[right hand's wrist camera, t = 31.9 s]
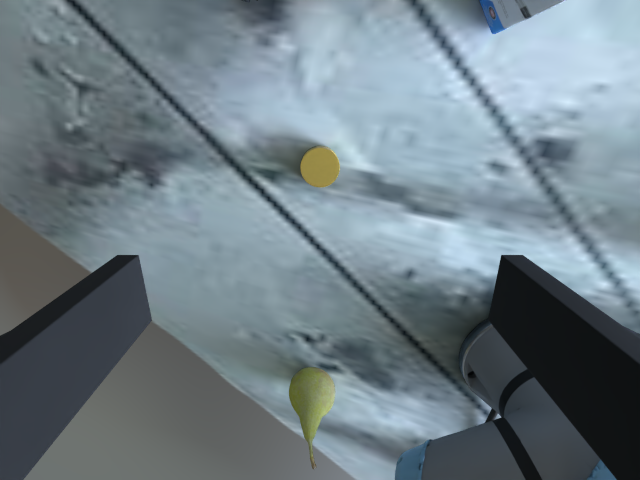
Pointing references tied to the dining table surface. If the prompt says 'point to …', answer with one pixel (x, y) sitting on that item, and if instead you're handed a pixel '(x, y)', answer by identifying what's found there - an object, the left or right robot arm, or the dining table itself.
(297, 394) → the fruit
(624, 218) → the dining table surface
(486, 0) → the ink box
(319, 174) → the cap
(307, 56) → the dining table surface
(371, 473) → the dining table surface
